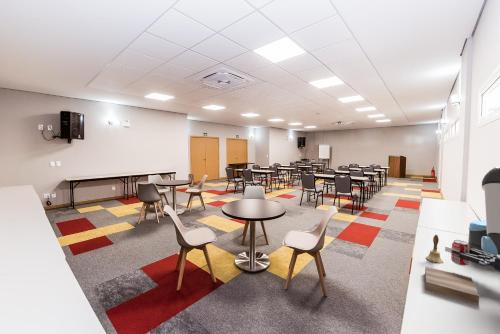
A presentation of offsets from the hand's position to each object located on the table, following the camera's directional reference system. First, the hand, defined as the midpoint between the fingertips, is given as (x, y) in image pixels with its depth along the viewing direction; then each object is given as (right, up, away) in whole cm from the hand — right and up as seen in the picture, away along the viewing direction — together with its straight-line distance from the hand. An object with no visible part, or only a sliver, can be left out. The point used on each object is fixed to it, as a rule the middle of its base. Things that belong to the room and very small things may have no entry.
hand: (449, 247), depth 126 cm
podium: (-15, -14, -17) cm, 26 cm away
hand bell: (+1, -12, +11) cm, 17 cm away
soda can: (+2, -8, -4) cm, 9 cm away
